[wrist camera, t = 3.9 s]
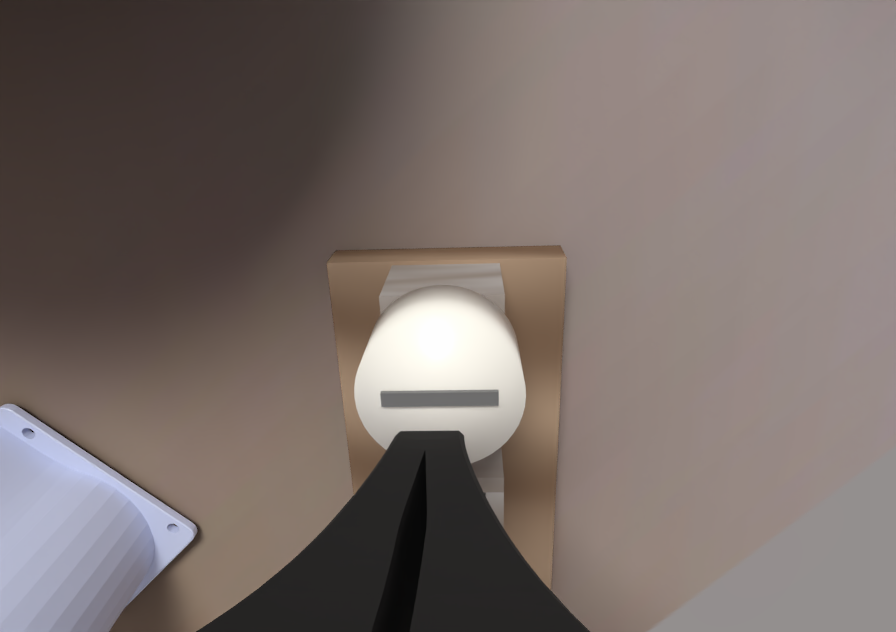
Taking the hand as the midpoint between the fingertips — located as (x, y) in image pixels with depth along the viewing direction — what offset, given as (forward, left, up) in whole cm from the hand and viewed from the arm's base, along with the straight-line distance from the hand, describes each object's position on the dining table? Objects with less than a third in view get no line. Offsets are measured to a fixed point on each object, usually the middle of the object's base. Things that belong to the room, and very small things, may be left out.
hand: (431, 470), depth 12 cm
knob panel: (+5, -4, -10) cm, 12 cm away
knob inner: (0, 0, -8) cm, 8 cm away
